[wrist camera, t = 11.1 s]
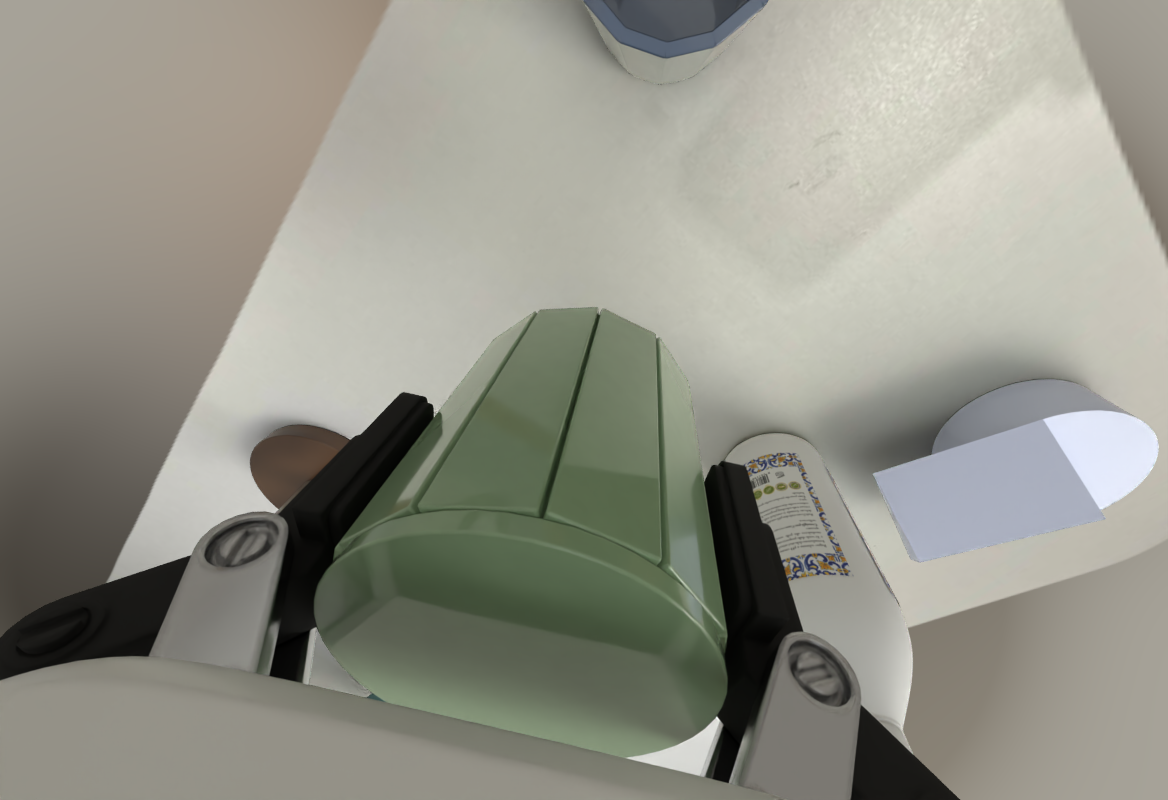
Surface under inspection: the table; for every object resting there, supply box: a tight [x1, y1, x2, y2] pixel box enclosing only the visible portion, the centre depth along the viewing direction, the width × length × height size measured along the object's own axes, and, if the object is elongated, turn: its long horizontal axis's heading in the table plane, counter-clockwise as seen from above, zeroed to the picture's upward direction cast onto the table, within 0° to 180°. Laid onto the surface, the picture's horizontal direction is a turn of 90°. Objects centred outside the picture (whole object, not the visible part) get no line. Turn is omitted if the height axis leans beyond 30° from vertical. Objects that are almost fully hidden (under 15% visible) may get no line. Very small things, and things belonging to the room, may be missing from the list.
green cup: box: [313, 307, 728, 758], centre depth 10 cm, size 7×7×8 cm
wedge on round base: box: [873, 379, 1159, 562], centre depth 25 cm, size 9×7×13 cm
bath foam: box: [725, 433, 913, 754], centre depth 23 cm, size 7×7×20 cm
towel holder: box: [250, 425, 350, 515], centre depth 34 cm, size 12×12×10 cm
